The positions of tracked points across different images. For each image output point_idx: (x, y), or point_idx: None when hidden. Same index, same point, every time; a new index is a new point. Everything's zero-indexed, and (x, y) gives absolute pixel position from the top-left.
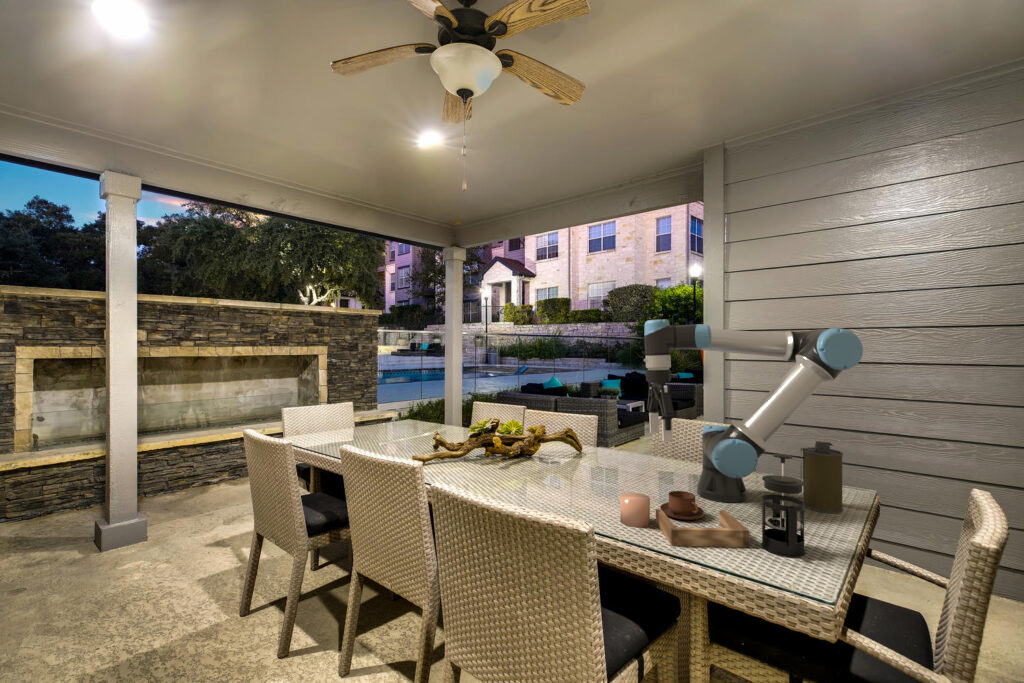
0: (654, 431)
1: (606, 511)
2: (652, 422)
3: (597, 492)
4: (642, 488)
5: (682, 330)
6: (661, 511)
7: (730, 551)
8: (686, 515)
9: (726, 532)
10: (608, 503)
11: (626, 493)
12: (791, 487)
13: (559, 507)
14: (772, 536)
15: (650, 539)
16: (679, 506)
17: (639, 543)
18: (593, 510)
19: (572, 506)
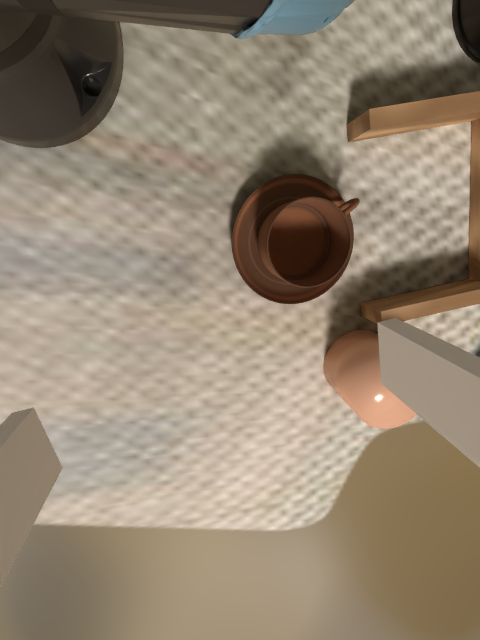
0: (43, 450)
1: (295, 428)
2: (5, 540)
3: (142, 467)
4: (45, 346)
5: None
6: (398, 311)
7: None
8: (321, 232)
9: None
10: (233, 430)
11: (361, 415)
12: None
13: (287, 524)
14: (469, 6)
15: (450, 330)
16: (335, 254)
17: (469, 352)
18: (294, 456)
19: (275, 501)
